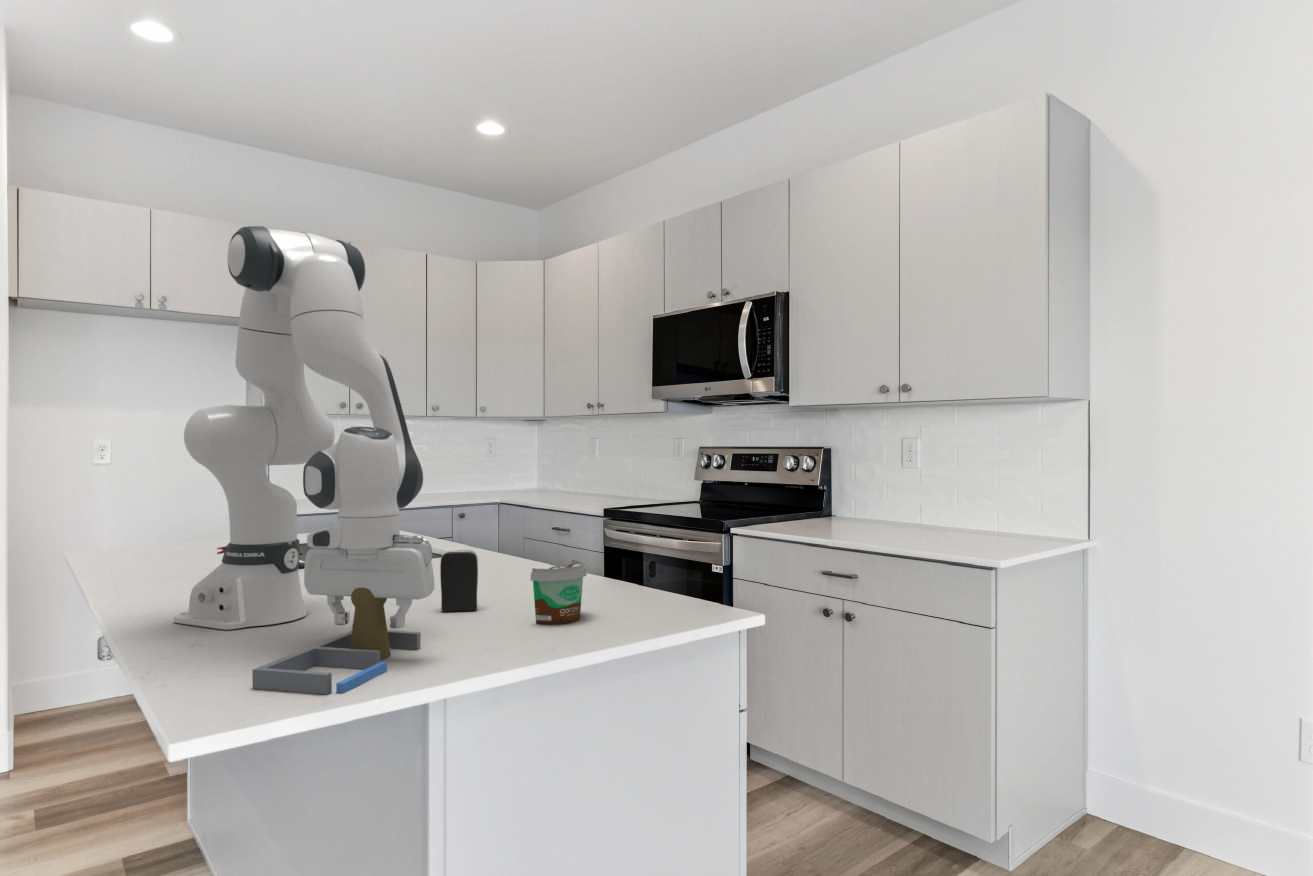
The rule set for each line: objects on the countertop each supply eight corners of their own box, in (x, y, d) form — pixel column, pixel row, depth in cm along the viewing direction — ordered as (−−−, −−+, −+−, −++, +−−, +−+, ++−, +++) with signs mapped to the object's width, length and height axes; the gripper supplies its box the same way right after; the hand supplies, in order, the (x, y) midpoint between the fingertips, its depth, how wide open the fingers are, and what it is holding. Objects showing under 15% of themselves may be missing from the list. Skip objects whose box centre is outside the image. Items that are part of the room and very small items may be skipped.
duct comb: (252, 688, 105) (252, 669, 105) (357, 644, 127) (357, 628, 127) (338, 695, 102) (338, 676, 102) (430, 648, 124) (430, 632, 124)
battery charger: (479, 607, 154) (479, 548, 154) (477, 611, 150) (477, 551, 150) (442, 608, 153) (442, 549, 153) (440, 613, 149) (439, 552, 149)
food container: (558, 630, 136) (557, 571, 136) (530, 625, 139) (530, 568, 139) (600, 616, 146) (600, 561, 146) (574, 612, 149) (573, 559, 149)
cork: (377, 663, 116) (376, 588, 116) (339, 661, 117) (339, 587, 117) (398, 652, 122) (398, 581, 122) (362, 650, 123) (362, 579, 123)
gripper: (441, 533, 120) (442, 624, 120) (324, 530, 125) (324, 618, 125) (420, 538, 114) (420, 634, 114) (297, 535, 119) (297, 627, 119)
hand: (369, 626), depth 120 cm, fingers open, 8 cm apart
